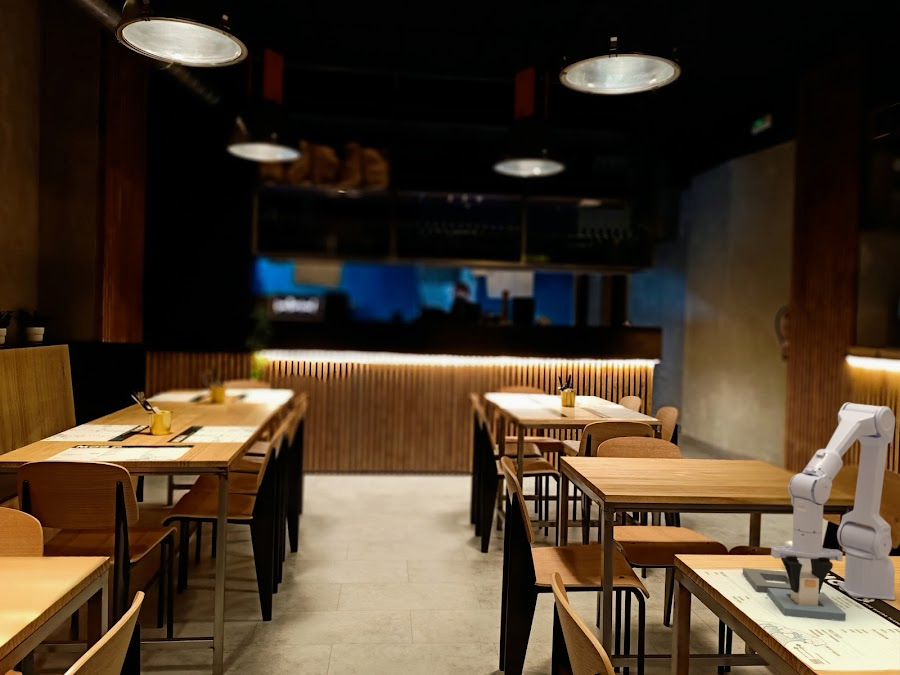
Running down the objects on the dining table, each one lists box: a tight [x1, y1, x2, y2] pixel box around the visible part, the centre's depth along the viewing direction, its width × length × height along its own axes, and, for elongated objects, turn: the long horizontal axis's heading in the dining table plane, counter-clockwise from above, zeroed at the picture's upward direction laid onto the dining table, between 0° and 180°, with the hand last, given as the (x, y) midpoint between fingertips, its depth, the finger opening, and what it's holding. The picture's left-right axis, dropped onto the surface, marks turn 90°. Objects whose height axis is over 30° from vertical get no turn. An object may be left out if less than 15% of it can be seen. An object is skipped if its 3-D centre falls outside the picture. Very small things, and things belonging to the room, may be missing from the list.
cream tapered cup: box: [784, 539, 812, 574], centre depth 172 cm, size 7×7×7 cm
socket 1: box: [742, 567, 791, 594], centre depth 162 cm, size 12×12×2 cm
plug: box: [791, 572, 819, 606], centre depth 149 cm, size 4×5×6 cm
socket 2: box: [766, 588, 847, 621], centre depth 149 cm, size 12×12×2 cm
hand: (805, 591), depth 149 cm, fingers closed on plug, 4 cm apart
